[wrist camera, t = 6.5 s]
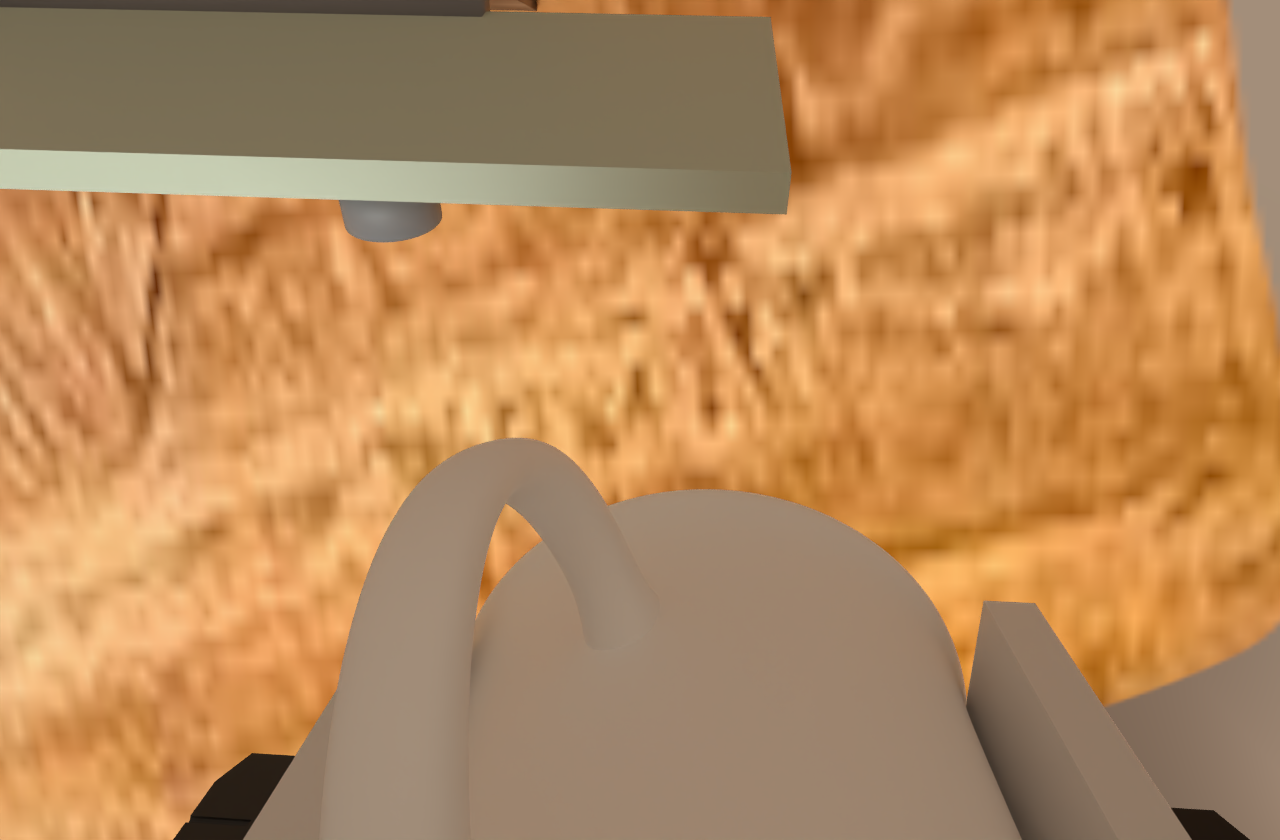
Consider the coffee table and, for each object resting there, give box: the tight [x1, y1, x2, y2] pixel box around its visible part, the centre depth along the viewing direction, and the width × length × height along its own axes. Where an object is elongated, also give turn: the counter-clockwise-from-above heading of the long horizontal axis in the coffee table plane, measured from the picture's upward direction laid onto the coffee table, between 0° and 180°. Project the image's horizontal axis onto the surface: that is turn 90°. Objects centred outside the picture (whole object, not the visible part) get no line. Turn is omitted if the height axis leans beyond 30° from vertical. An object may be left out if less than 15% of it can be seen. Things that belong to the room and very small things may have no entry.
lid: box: [0, 0, 791, 242], centre depth 21 cm, size 24×10×2 cm
